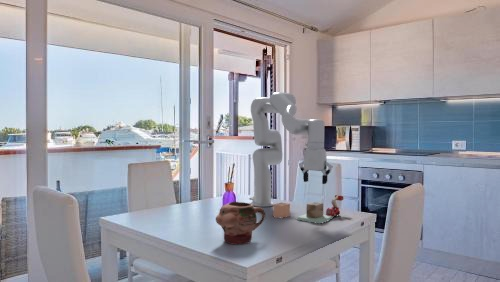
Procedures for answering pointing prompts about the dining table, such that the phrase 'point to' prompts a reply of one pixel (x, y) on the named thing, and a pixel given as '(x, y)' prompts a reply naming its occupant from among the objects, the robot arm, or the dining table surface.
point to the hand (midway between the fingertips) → (315, 182)
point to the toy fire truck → (334, 207)
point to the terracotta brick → (281, 210)
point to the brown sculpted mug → (239, 221)
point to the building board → (317, 220)
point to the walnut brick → (314, 210)
